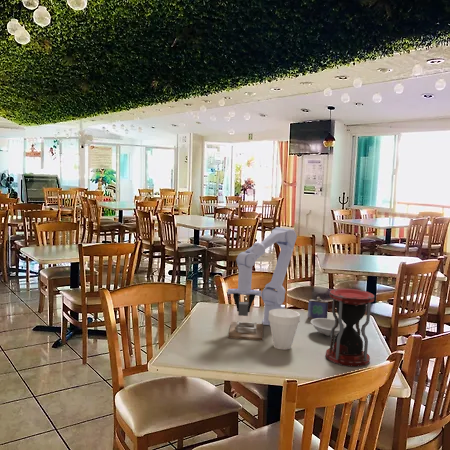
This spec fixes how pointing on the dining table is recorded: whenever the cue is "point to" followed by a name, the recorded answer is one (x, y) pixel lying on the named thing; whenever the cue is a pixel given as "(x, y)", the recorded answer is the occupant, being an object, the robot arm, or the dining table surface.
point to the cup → (283, 327)
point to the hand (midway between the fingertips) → (243, 311)
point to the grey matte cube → (243, 308)
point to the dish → (325, 326)
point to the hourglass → (349, 327)
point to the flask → (317, 308)
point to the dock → (246, 330)
